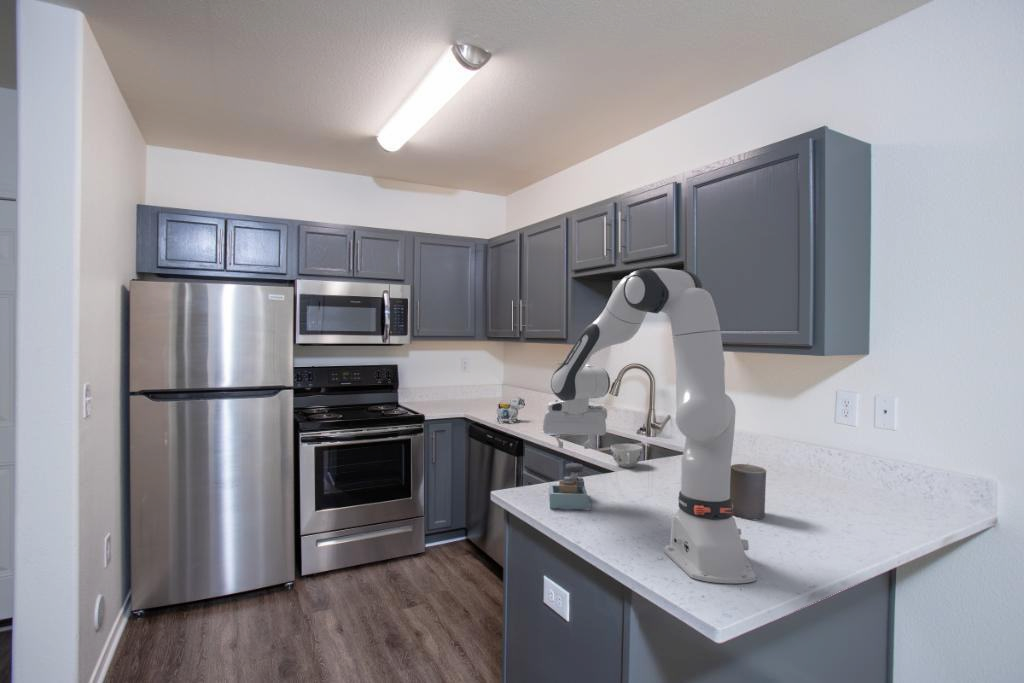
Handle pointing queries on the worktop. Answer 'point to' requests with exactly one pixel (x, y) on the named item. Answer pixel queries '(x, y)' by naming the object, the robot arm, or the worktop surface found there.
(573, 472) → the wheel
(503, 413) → the robotic toy
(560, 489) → the brown wooden block
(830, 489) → the worktop surface
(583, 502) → the teal open storage bin
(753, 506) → the pillar candle
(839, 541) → the worktop surface
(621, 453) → the teacup
